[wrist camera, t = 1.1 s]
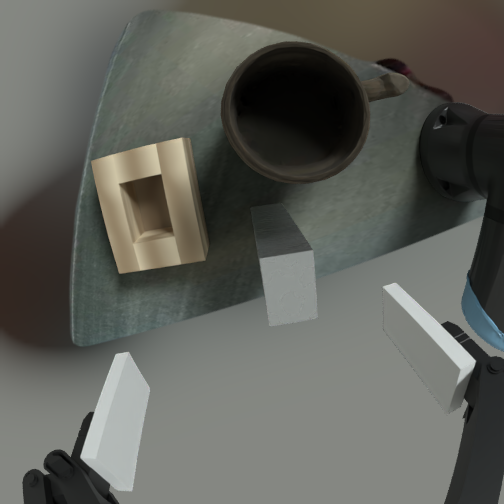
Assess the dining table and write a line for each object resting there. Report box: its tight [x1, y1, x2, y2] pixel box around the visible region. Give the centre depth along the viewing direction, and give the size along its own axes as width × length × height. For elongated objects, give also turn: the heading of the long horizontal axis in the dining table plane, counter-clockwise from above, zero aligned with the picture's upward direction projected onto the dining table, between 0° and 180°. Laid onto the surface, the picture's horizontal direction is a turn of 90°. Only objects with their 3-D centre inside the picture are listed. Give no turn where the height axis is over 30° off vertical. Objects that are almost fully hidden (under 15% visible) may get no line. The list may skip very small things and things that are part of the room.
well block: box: [91, 138, 210, 274], centre depth 36 cm, size 11×14×6 cm
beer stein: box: [221, 41, 409, 184], centre depth 26 cm, size 15×11×20 cm
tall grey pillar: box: [250, 203, 318, 326], centre depth 32 cm, size 4×6×18 cm, turn 9°
